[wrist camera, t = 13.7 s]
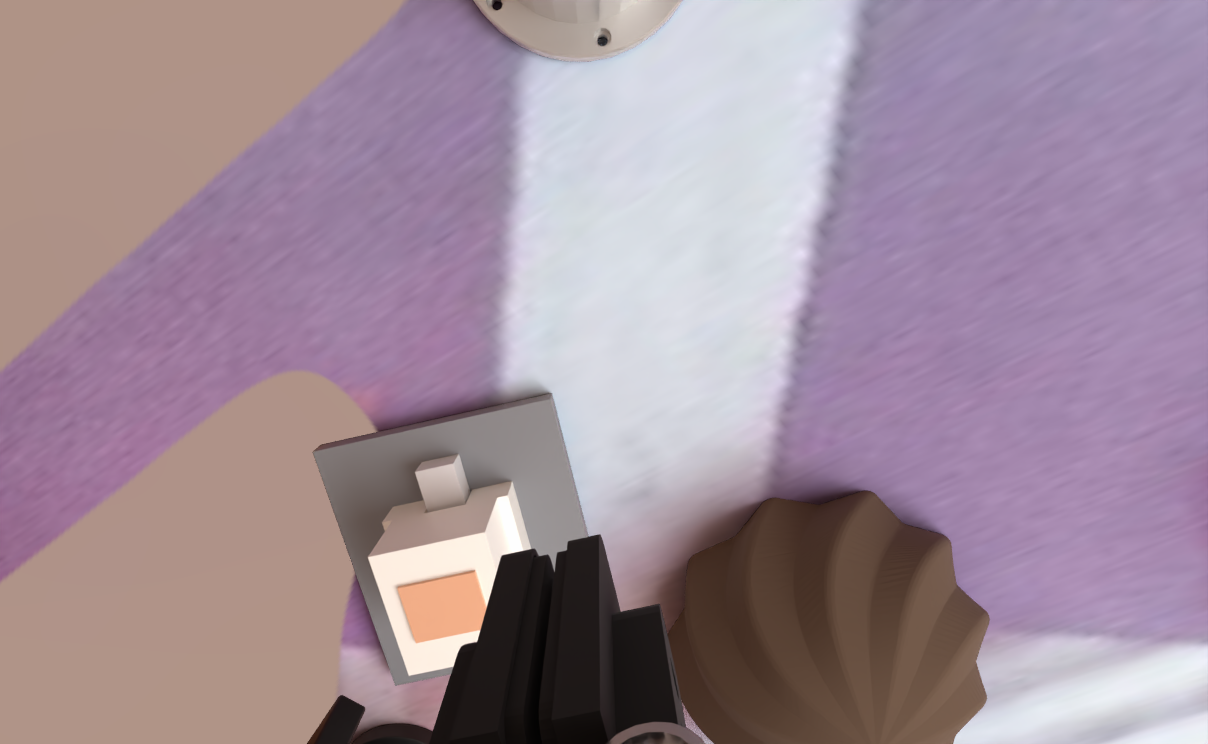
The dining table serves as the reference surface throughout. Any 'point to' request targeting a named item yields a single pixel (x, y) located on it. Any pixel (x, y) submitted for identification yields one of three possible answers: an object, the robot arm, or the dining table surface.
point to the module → (444, 571)
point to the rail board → (486, 465)
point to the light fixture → (385, 740)
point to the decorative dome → (828, 630)
